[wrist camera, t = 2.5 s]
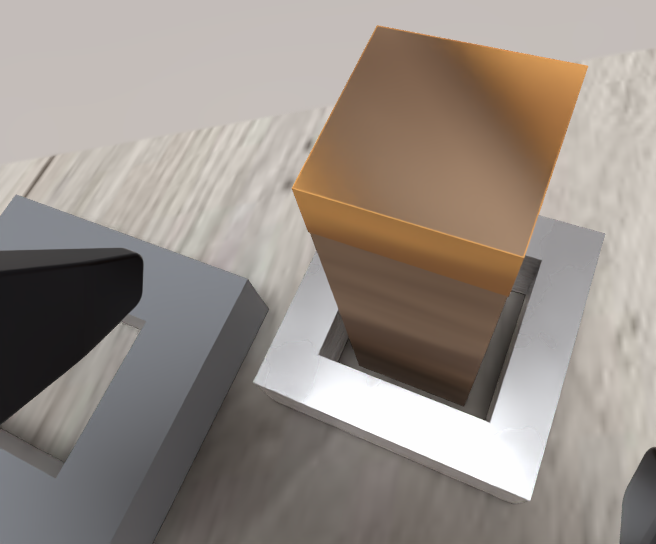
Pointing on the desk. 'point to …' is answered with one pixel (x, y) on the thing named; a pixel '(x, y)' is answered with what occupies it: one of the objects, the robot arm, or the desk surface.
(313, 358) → the frame
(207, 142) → the desk surface
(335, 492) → the desk surface
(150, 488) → the socket
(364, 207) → the plug
